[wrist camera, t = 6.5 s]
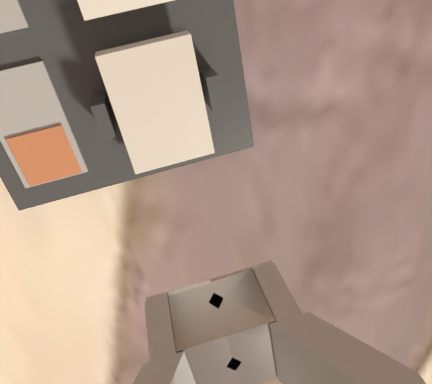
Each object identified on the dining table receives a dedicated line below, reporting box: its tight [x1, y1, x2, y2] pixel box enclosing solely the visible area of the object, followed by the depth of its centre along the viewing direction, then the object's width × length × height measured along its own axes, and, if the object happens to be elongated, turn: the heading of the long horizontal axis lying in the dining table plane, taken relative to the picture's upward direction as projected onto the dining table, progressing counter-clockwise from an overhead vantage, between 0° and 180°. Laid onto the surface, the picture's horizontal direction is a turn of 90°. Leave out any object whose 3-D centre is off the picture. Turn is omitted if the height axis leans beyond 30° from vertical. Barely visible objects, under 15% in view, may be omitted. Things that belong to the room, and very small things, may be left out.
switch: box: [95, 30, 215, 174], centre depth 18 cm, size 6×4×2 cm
